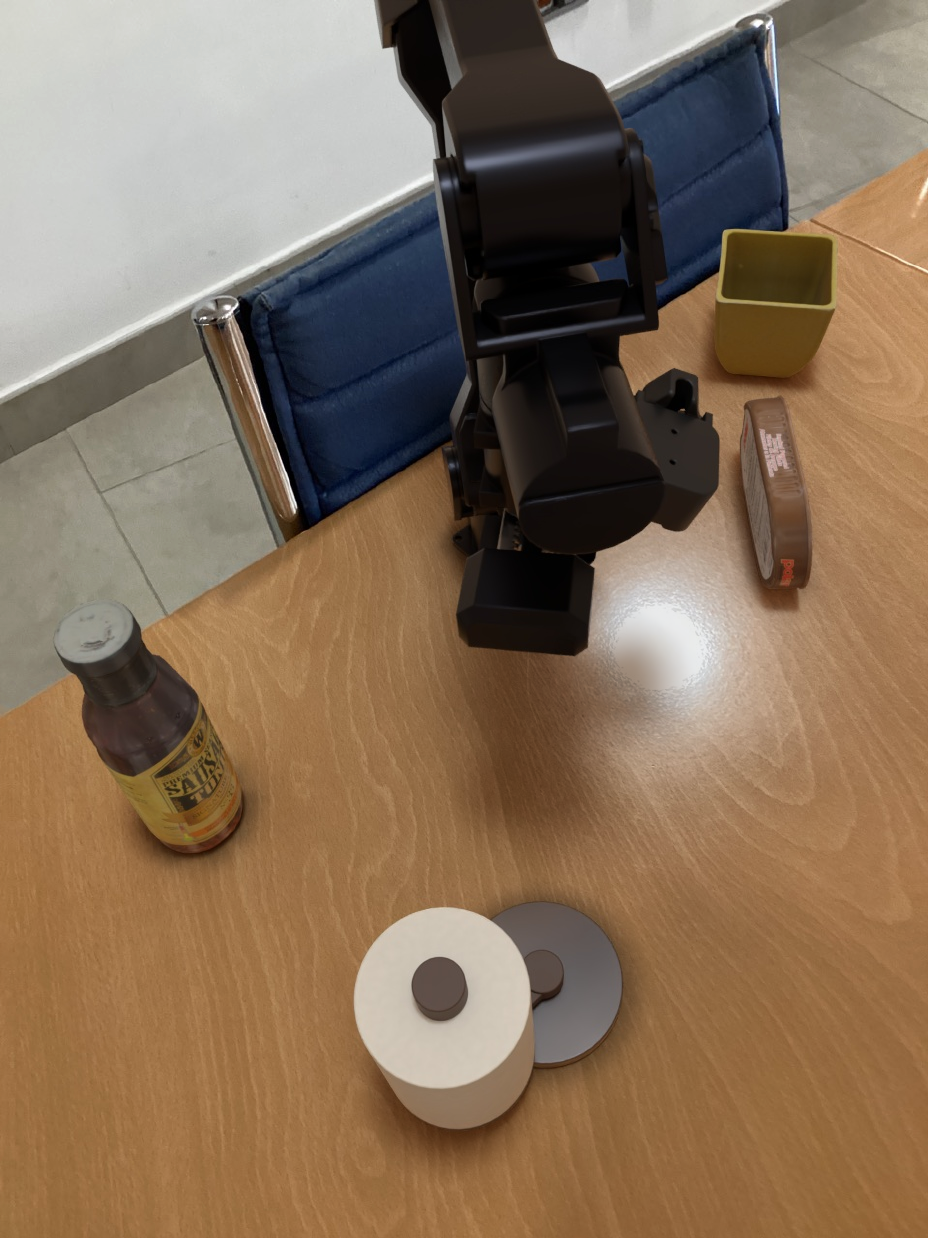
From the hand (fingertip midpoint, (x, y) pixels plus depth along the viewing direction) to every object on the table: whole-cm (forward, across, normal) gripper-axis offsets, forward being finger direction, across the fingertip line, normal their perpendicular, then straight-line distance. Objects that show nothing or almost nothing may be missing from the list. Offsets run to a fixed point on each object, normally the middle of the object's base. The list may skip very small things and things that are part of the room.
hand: (544, 586), depth 61 cm
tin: (+12, +16, -14) cm, 24 cm away
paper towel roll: (+11, -23, +1) cm, 25 cm away
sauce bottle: (+12, -11, +21) cm, 27 cm away
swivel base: (+12, -19, -2) cm, 23 cm away
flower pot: (+12, +34, -14) cm, 39 cm away
